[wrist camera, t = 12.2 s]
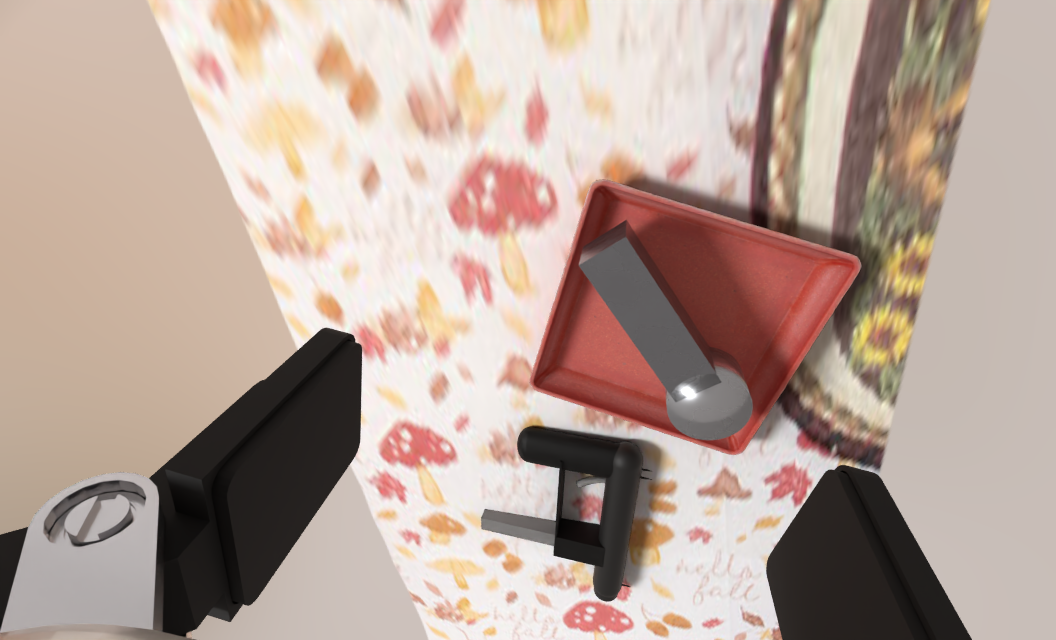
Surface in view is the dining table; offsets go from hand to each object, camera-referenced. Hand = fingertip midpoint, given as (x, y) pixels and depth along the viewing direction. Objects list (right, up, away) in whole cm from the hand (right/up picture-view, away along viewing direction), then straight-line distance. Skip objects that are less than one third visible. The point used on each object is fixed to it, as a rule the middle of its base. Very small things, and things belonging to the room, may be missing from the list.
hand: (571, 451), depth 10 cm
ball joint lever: (+9, +2, +26) cm, 28 cm away
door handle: (+3, -16, +41) cm, 44 cm away
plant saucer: (+10, +3, +30) cm, 31 cm away
